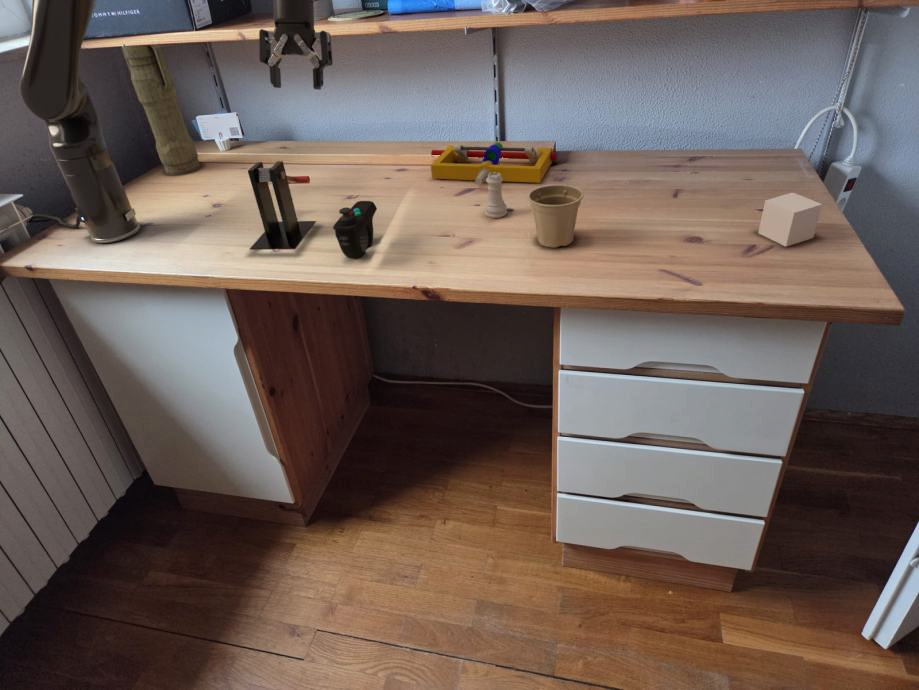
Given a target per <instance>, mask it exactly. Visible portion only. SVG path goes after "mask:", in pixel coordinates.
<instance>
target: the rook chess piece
mask: <svg viewBox="0 0 919 690" xmlns="http://www.w3.org/2000/svg"><path fill="white" fill-rule="evenodd" d="M487 176H488V177H487V179H486V182H485V183H487V184H488V185H487V189H488V197H487V202H486V204H485V206H484V214H485V216H486V217H487V218H489V219H490V218H491V219H499V218H500V219H501V218H503V217H505V216H506V214H507V213H508V210H507V207H508V206H507V204H506V203H505V200H504V198H503V195H502V188H503V186H502V182H503V181H502V180H503V178H502V177H501V174H500V173H497V175H496V172H493V175H492V173H489V175H487Z"/></svg>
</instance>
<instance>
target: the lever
mask: <svg viewBox="0 0 919 690" xmlns="http://www.w3.org/2000/svg"><path fill="white" fill-rule="evenodd" d="M270 168H271V167H264V168H258V171H259V182H263V183H268V184H272V181H271V177H270V173H269V169H270ZM286 176H287V180H288V184H289V185H298V184H299V185H300V184H302V185H303V184H310V183H311V178H310V176H309V175H298V176H297V175H295V176H294V175H293V176H292V175H287V174H286Z"/></svg>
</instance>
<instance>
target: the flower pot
mask: <svg viewBox="0 0 919 690" xmlns="http://www.w3.org/2000/svg"><path fill="white" fill-rule="evenodd" d="M584 196H585V195H584V192H583V190H582V189H581V188H579V187H577V186H574V185H569V184H548V185H542V186H538V187H535V188H534V189H532V190H530V191H529V192H528V194H527V199H528V201H529V202H530V207H531V209H532V212H533V218H534V224H535V230H536V236H537V238H536V239H537V241H538V243H539V244H540V245H541V246H543V247H546V248H553V249H554V248H558V247H561V246H562V247H566V246H568V245H570V244H571V243H572V242H573V241H574V236H575V235H574V234H575V230H576V229H575V228H576V223H577V217H578V212H579V207H580V206H581V203H582V200H583V199H584Z"/></svg>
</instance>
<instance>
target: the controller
mask: <svg viewBox="0 0 919 690" xmlns="http://www.w3.org/2000/svg"><path fill="white" fill-rule="evenodd" d="M377 209H378V207H377V206H376V204H375V202H374V201H371V200H359V201H356V202H355V203H354V204H353V206H351V207H341V208H340V209H339V211H338V212H339V214H340V215H341V216H340V217H338V218H339V219H337V221H336V222H335V223H334V225H333V227H332V229H333V230H334V235H335V238H336V240H337V242H338V245H339V248H340V250H341V252H342V254H343V255H344V256H345V257H347V258H348V259H360V258H363V257H364V256H366V252H367V250H368V249H370V248H371V247H372V246H373V242H374V225H373V224H374V222H373V220H374V217H375V214H376V212H377Z"/></svg>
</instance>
